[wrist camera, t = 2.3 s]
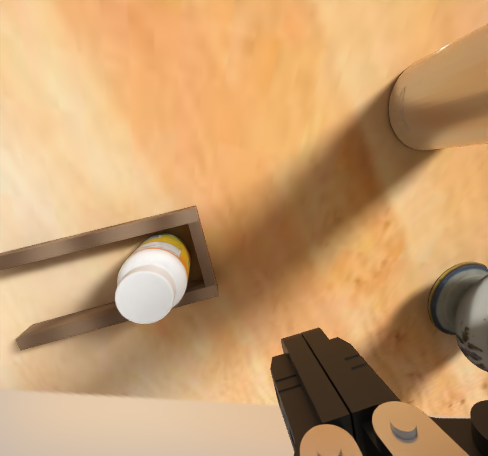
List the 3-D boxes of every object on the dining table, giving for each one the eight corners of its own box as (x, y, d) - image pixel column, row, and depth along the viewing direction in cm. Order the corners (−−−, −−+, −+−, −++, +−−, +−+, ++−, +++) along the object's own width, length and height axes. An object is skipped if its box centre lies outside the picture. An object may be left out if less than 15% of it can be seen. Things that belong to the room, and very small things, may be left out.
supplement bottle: (179, 289, 29) (167, 343, 20) (130, 271, 28) (92, 320, 19) (199, 243, 28) (196, 277, 19) (149, 224, 27) (119, 249, 18)
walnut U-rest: (195, 205, 28) (195, 208, 25) (217, 285, 30) (218, 295, 27) (1, 252, 26) (-22, 261, 23) (37, 334, 28) (20, 350, 25)
